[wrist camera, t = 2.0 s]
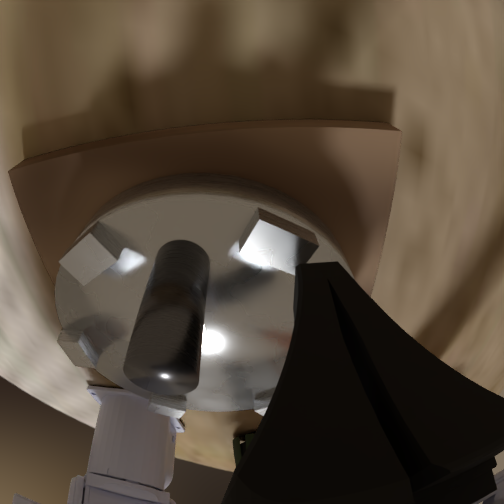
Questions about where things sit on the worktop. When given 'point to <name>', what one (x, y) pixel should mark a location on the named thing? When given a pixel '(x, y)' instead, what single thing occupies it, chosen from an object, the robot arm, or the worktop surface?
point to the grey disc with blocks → (189, 290)
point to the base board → (229, 163)
